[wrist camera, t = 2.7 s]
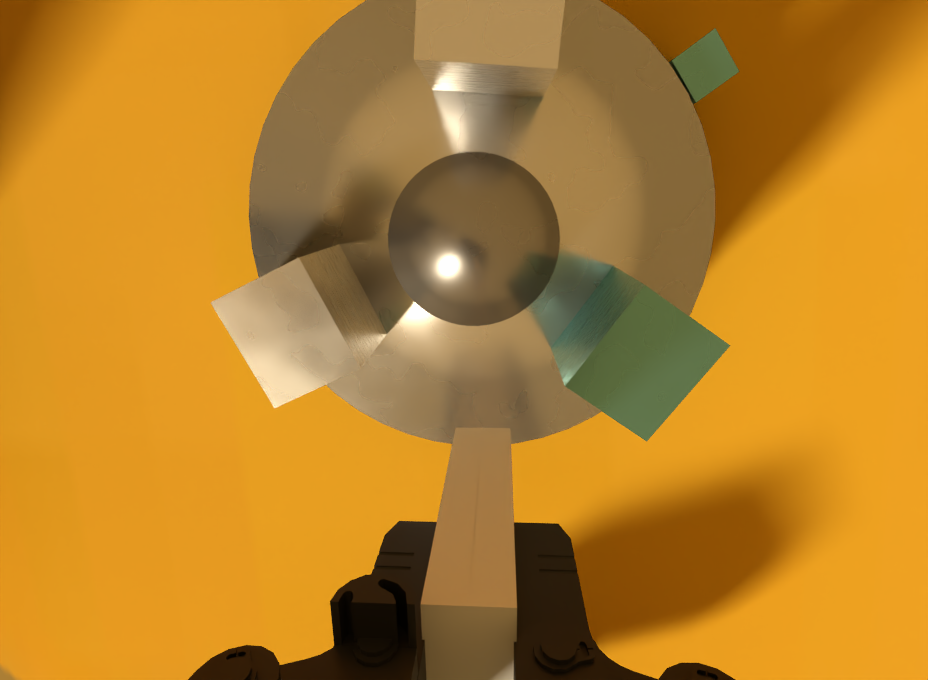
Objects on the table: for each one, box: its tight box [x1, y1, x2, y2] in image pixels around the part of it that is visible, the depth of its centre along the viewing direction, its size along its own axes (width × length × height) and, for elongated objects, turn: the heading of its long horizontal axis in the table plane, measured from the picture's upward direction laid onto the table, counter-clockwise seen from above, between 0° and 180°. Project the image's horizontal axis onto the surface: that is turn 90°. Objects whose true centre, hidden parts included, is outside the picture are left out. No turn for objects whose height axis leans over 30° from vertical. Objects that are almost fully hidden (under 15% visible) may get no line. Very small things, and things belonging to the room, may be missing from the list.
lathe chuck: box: [211, 0, 730, 444], centre depth 17 cm, size 16×16×6 cm
